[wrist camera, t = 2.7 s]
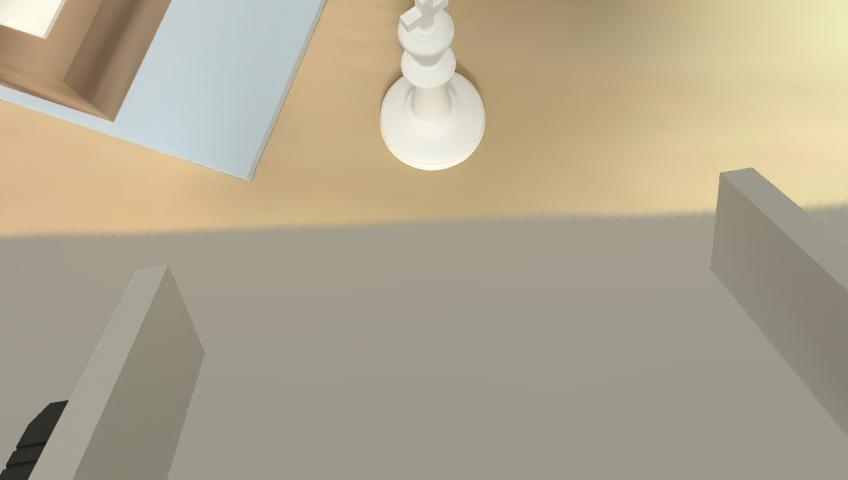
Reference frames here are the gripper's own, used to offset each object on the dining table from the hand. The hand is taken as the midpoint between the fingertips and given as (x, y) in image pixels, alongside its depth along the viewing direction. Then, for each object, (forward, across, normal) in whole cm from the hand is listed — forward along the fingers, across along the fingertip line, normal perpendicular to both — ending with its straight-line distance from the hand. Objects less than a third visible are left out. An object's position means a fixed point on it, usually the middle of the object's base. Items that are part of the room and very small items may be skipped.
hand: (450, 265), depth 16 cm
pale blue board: (+21, -13, +3) cm, 25 cm away
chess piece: (+16, +1, -3) cm, 16 cm away
